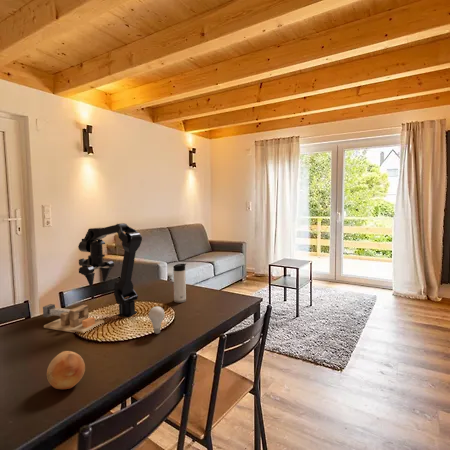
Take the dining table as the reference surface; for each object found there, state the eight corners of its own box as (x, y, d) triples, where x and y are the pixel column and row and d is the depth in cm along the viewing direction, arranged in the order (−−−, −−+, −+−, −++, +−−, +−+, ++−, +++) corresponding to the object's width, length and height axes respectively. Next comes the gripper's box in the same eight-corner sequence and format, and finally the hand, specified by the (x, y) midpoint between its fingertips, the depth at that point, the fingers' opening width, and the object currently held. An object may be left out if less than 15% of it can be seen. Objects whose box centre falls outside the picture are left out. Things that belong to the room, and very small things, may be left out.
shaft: (81, 317, 134) (81, 307, 133) (74, 321, 130) (74, 310, 130) (51, 313, 139) (50, 303, 139) (43, 316, 136) (42, 306, 135)
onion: (38, 392, 85) (36, 358, 85) (68, 374, 95) (66, 342, 94) (65, 400, 82) (63, 364, 81) (93, 380, 91) (91, 347, 91)
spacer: (90, 322, 133) (94, 323, 132) (82, 326, 129) (87, 327, 128) (89, 317, 133) (94, 317, 132) (82, 320, 128) (87, 321, 128)
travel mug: (184, 303, 160) (183, 265, 159) (172, 302, 162) (171, 264, 160) (188, 299, 167) (187, 262, 165) (176, 298, 168) (175, 262, 166)
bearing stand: (104, 322, 135) (103, 305, 135) (83, 333, 124) (82, 314, 123) (66, 317, 142) (65, 300, 141) (43, 327, 131) (42, 309, 130)
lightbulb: (167, 331, 125) (167, 305, 124) (159, 337, 119) (159, 310, 119) (154, 329, 127) (153, 303, 126) (146, 335, 121) (145, 308, 121)
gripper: (96, 249, 165) (97, 278, 166) (68, 255, 147) (70, 287, 149) (114, 250, 161) (115, 279, 163) (87, 256, 144) (89, 289, 145)
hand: (97, 283), depth 155 cm, fingers open, 9 cm apart
